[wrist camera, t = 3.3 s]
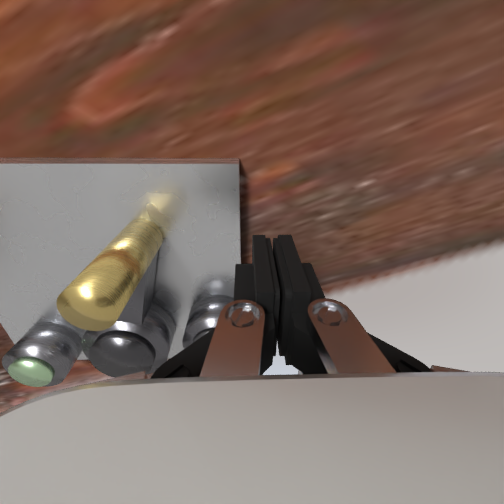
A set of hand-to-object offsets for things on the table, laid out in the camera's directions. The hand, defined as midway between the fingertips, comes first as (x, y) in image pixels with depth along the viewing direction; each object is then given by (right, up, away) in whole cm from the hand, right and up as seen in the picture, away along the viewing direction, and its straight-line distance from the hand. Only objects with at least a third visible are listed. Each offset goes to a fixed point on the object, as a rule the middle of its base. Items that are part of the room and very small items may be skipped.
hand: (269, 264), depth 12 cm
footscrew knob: (-8, -2, +4) cm, 9 cm away
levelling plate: (-10, -1, +5) cm, 11 cm away
